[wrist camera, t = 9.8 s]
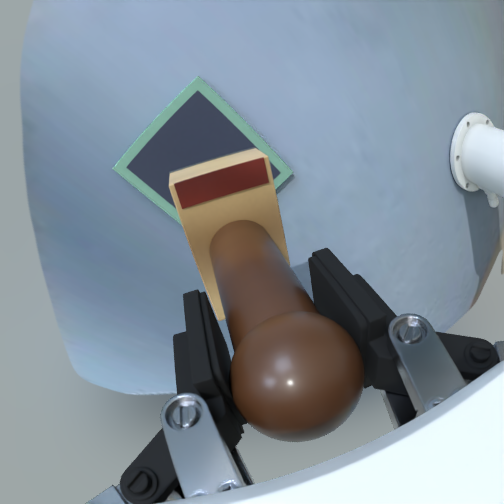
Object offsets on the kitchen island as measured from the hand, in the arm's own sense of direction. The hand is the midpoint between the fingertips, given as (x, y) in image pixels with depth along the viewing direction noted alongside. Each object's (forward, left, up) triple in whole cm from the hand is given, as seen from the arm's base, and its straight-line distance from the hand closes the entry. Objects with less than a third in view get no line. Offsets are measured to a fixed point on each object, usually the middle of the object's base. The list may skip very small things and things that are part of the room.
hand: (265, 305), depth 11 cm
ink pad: (0, 0, -22) cm, 22 cm away
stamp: (0, 0, -7) cm, 7 cm away
